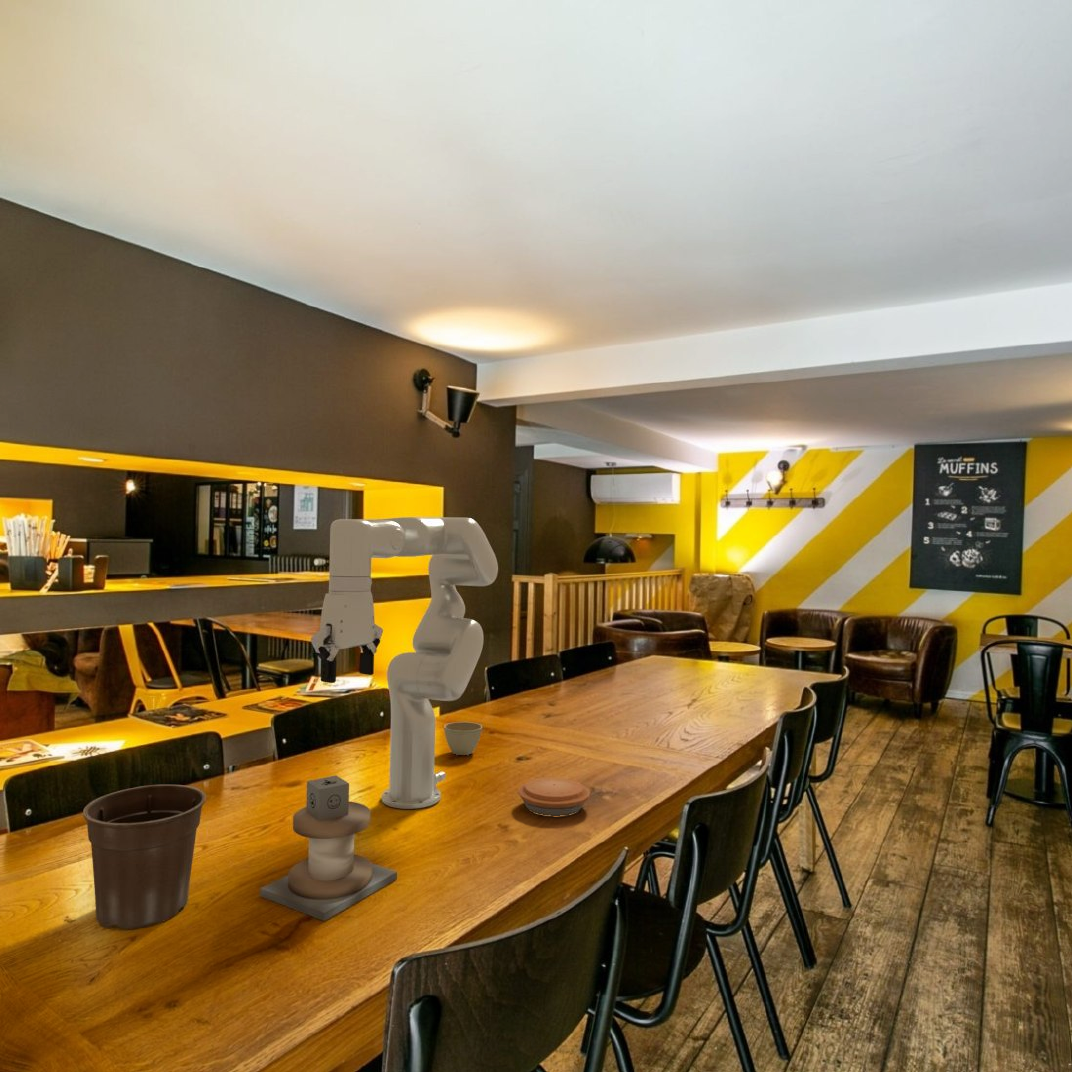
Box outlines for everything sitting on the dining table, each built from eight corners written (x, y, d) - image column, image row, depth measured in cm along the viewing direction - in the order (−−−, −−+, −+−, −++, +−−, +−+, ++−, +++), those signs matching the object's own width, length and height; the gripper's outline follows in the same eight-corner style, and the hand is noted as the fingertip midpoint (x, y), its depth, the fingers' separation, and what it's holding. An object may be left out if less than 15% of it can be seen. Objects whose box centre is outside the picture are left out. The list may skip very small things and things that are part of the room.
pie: (528, 824, 145) (528, 799, 145) (509, 798, 160) (510, 775, 160) (600, 818, 150) (601, 794, 150) (576, 793, 165) (576, 770, 165)
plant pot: (222, 909, 110) (224, 802, 110) (103, 953, 98) (106, 832, 98) (177, 874, 121) (179, 777, 121) (64, 910, 109) (67, 801, 109)
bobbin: (335, 858, 128) (337, 791, 128) (397, 878, 121) (398, 808, 121) (260, 896, 114) (261, 821, 114) (324, 921, 107) (326, 841, 107)
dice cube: (318, 821, 114) (319, 789, 114) (306, 811, 118) (306, 781, 118) (348, 814, 118) (349, 783, 118) (335, 805, 122) (336, 775, 122)
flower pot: (486, 756, 190) (487, 729, 190) (449, 760, 186) (449, 732, 186) (475, 746, 199) (475, 720, 199) (439, 749, 196) (440, 723, 196)
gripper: (367, 583, 145) (365, 669, 145) (299, 586, 130) (297, 683, 130) (396, 584, 141) (394, 673, 141) (329, 588, 126) (327, 688, 126)
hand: (347, 677), depth 135 cm, fingers open, 9 cm apart
